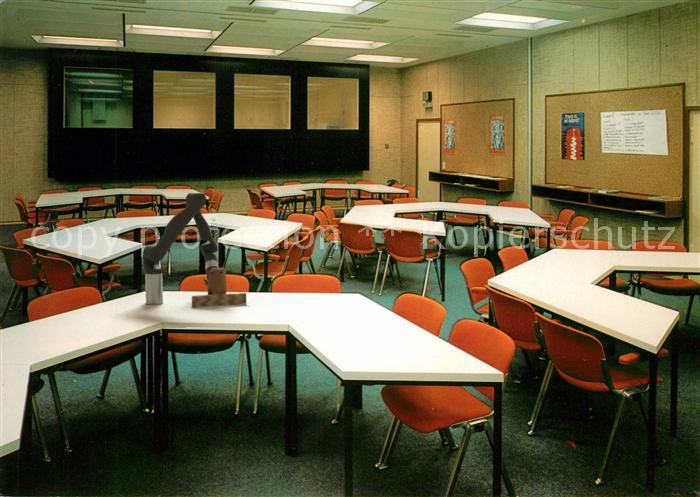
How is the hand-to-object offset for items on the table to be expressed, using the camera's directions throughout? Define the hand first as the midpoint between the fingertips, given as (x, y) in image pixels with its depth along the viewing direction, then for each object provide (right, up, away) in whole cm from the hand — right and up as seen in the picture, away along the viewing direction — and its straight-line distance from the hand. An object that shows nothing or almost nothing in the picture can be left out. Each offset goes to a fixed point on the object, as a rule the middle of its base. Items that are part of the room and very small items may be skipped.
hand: (215, 292), depth 344 cm
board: (+5, -6, -12) cm, 14 cm away
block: (+2, -5, -4) cm, 7 cm away
